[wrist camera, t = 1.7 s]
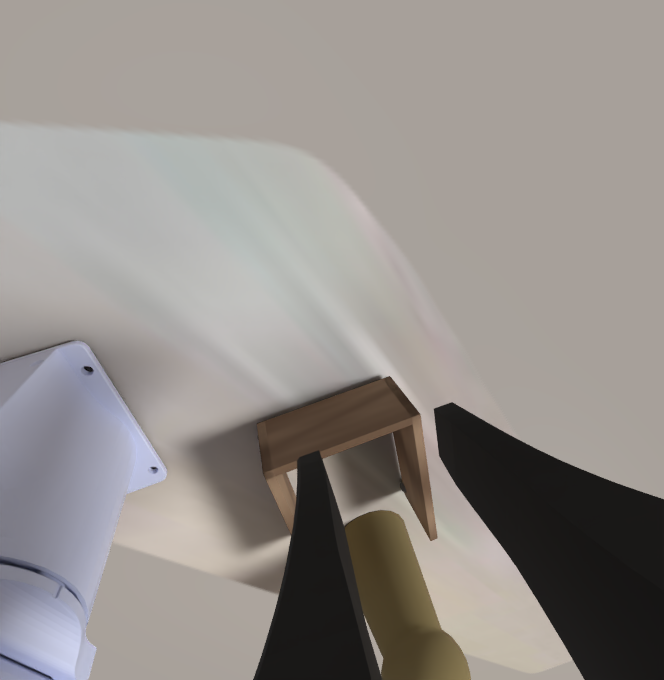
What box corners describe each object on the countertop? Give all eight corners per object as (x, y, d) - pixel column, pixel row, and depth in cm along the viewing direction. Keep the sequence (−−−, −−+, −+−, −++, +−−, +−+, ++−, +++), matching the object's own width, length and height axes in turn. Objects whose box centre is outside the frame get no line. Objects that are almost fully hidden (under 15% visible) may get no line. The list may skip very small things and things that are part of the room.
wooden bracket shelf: (252, 421, 22) (258, 475, 18) (391, 372, 23) (424, 412, 19) (300, 532, 27) (312, 591, 23) (411, 487, 28) (440, 536, 24)
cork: (392, 559, 32) (465, 729, 22) (327, 566, 30) (376, 757, 20) (414, 508, 29) (505, 673, 20) (345, 512, 27) (410, 697, 18)
